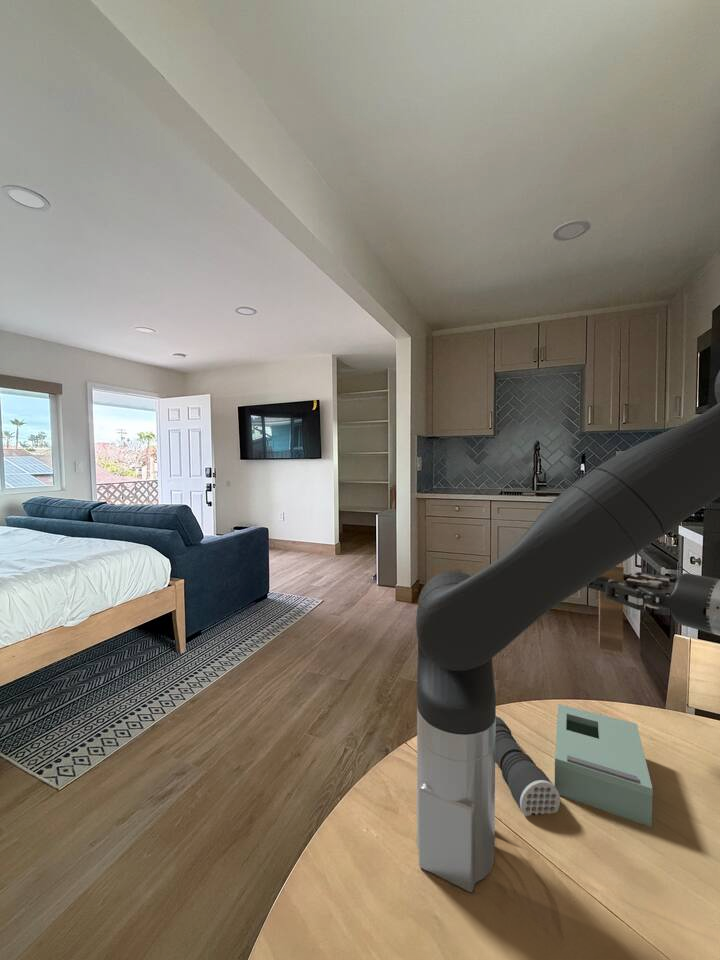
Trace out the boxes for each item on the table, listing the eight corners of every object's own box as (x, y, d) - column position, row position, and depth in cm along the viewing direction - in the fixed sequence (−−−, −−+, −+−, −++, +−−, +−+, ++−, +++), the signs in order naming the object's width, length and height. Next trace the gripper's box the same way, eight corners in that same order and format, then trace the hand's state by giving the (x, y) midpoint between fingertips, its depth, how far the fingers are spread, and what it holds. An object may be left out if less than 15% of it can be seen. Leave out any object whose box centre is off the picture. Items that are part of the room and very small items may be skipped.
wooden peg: (622, 652, 64) (623, 567, 64) (599, 648, 66) (600, 565, 65) (620, 644, 67) (621, 562, 67) (598, 640, 69) (599, 560, 68)
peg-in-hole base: (651, 834, 50) (652, 786, 50) (554, 800, 55) (555, 756, 55) (635, 760, 62) (636, 721, 62) (557, 738, 67) (558, 702, 67)
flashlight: (472, 743, 67) (473, 711, 66) (503, 740, 67) (503, 709, 67) (521, 825, 51) (521, 785, 51) (560, 820, 52) (560, 780, 52)
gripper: (741, 572, 58) (614, 551, 72) (702, 589, 50) (570, 562, 65) (739, 623, 58) (614, 591, 73) (701, 647, 50) (569, 607, 65)
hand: (594, 577), depth 69 cm, fingers closed on wooden peg, 4 cm apart
